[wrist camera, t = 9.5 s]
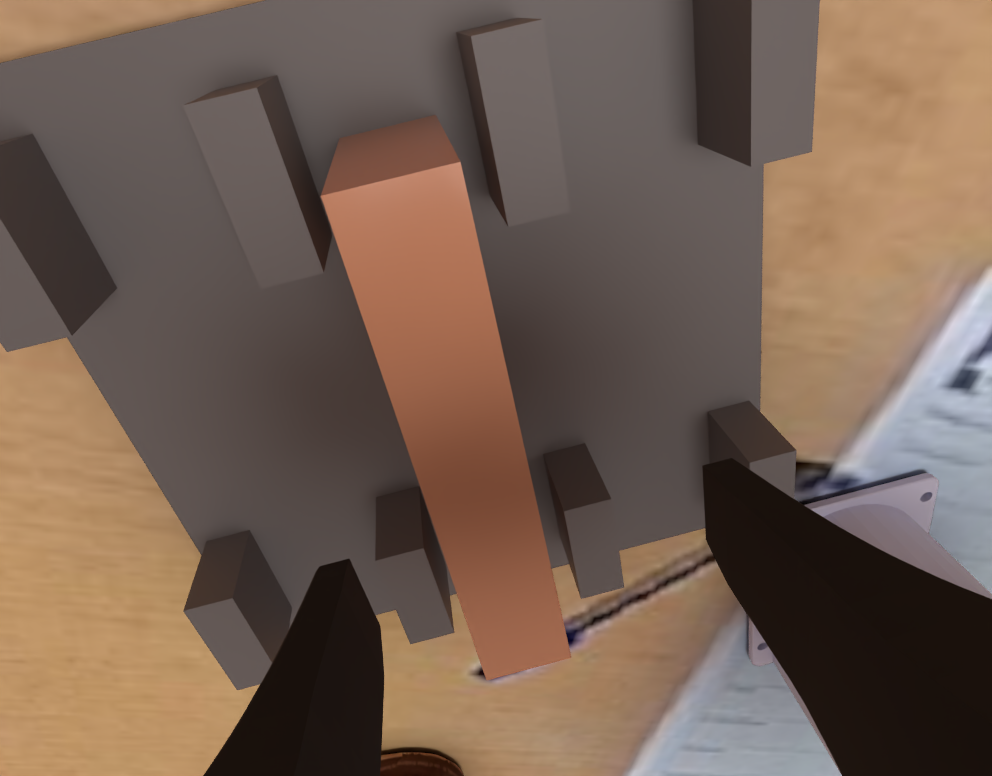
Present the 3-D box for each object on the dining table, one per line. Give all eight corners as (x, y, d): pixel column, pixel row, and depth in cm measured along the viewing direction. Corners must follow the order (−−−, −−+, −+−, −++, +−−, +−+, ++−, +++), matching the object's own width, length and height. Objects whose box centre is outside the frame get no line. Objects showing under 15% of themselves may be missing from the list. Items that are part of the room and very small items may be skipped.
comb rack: (746, 497, 26) (800, 570, 23) (261, 625, 26) (243, 719, 22) (746, -112, 16) (846, -146, 13) (-63, 80, 15) (-190, 100, 12)
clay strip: (530, 517, 24) (571, 657, 19) (463, 535, 24) (486, 680, 19) (436, 114, 16) (460, 161, 11) (339, 138, 16) (320, 196, 11)
